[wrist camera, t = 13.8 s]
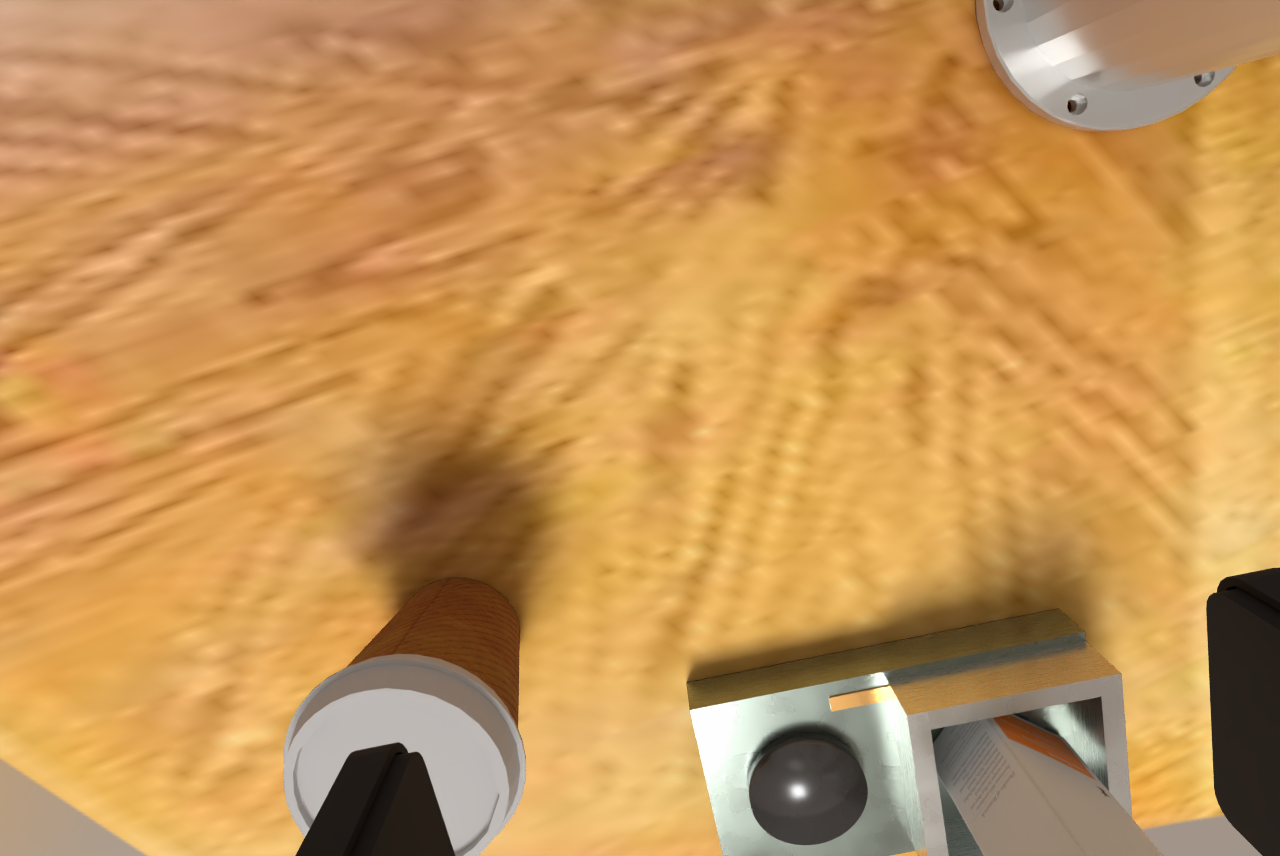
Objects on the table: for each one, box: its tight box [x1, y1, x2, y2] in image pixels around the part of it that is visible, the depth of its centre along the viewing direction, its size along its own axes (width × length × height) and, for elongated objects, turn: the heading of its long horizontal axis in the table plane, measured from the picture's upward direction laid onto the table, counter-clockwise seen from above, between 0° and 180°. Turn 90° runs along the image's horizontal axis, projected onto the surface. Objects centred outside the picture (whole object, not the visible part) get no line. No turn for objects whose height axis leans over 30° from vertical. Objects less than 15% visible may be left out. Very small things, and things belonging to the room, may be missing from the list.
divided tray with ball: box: [687, 609, 1132, 856], centre depth 41 cm, size 20×11×6 cm, turn 102°
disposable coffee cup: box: [283, 578, 526, 856], centre depth 37 cm, size 10×10×12 cm
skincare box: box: [933, 714, 1163, 856], centre depth 36 cm, size 6×4×12 cm
